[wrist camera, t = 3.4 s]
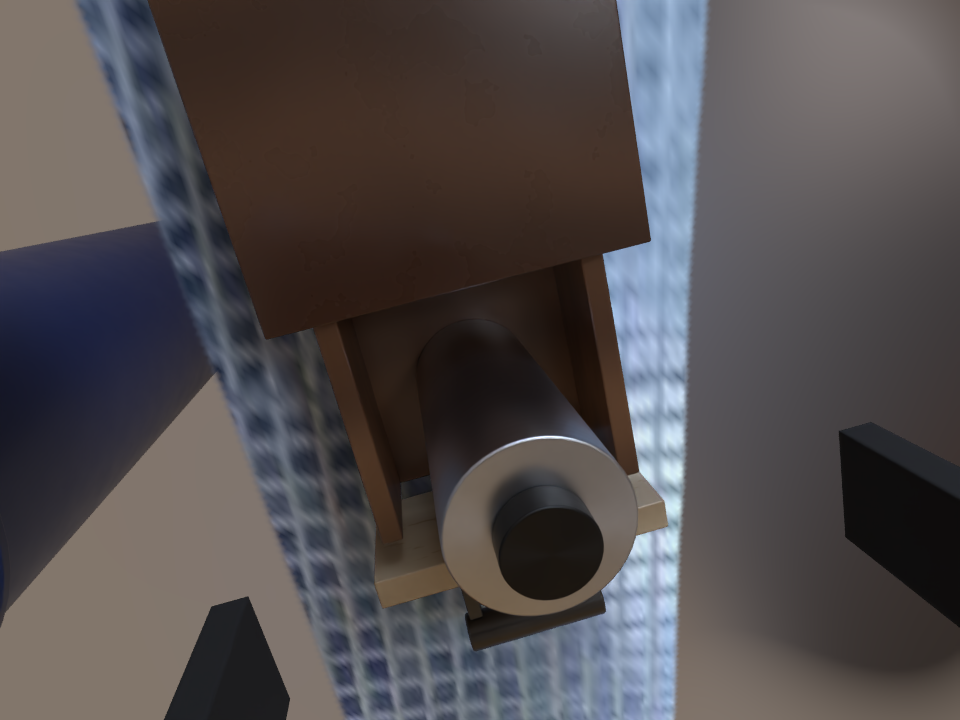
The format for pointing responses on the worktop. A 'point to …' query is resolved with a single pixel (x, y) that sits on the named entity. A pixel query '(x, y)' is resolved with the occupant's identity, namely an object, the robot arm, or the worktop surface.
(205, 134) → the cabinet
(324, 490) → the worktop surface
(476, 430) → the metal bottle
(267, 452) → the worktop surface
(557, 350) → the drawer
